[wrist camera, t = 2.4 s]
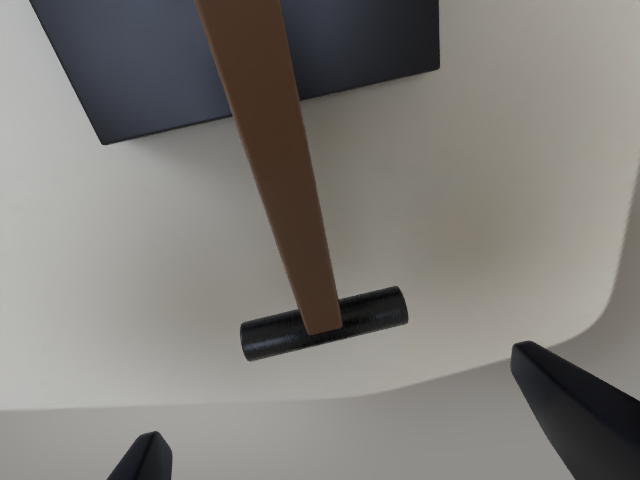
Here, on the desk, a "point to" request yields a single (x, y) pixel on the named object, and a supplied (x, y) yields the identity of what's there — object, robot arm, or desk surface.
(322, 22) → the bracket
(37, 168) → the desk surface
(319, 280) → the lever
